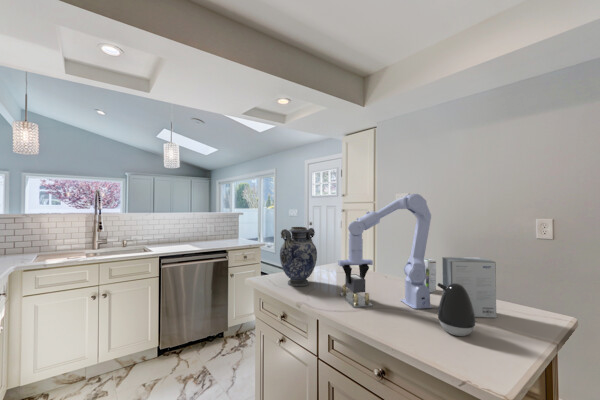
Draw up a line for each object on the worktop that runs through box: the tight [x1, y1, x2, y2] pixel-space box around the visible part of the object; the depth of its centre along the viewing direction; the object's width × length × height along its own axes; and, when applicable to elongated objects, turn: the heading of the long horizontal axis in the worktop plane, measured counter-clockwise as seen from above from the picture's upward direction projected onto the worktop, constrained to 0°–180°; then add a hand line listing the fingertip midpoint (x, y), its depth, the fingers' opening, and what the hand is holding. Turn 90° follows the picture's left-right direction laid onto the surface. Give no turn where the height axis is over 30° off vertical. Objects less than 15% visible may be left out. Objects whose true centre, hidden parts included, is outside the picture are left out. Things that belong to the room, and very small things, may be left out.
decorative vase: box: [279, 226, 318, 287], centre depth 135 cm, size 21×19×28 cm
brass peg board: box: [339, 283, 374, 309], centre depth 112 cm, size 16×8×5 cm, turn 11°
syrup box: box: [424, 257, 437, 293], centre depth 126 cm, size 6×6×14 cm
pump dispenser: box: [437, 282, 476, 337], centre depth 85 cm, size 10×10×15 cm
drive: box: [344, 273, 366, 294], centre depth 113 cm, size 9×5×5 cm, turn 11°
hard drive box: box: [441, 256, 497, 319], centre depth 100 cm, size 16×8×20 cm, turn 84°
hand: (355, 282), depth 112 cm, fingers closed on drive, 5 cm apart
